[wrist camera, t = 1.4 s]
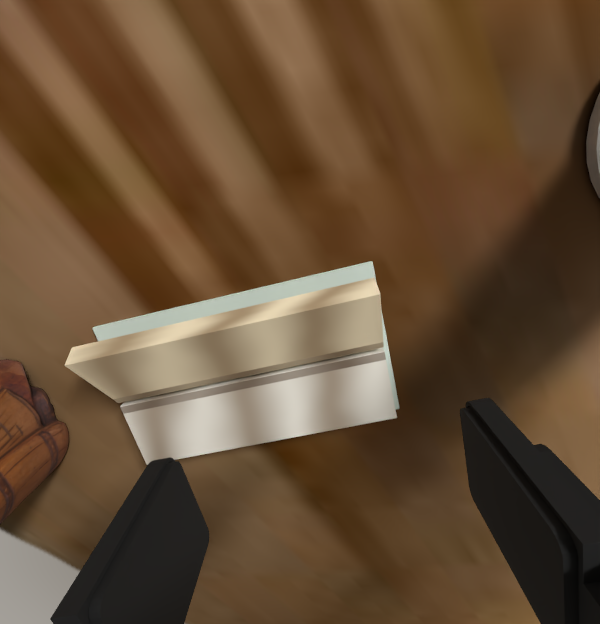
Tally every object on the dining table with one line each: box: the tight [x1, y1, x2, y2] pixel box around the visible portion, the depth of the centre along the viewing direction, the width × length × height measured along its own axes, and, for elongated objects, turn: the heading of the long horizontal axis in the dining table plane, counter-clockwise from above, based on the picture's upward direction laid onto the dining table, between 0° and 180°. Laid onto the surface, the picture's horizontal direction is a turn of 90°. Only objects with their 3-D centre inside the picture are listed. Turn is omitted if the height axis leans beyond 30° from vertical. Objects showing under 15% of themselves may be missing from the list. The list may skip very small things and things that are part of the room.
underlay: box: [93, 261, 400, 409], centre depth 26 cm, size 21×12×1 cm, turn 103°
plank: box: [65, 278, 384, 403], centre depth 23 cm, size 20×6×1 cm
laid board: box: [120, 348, 397, 465], centre depth 26 cm, size 20×6×1 cm, turn 103°
